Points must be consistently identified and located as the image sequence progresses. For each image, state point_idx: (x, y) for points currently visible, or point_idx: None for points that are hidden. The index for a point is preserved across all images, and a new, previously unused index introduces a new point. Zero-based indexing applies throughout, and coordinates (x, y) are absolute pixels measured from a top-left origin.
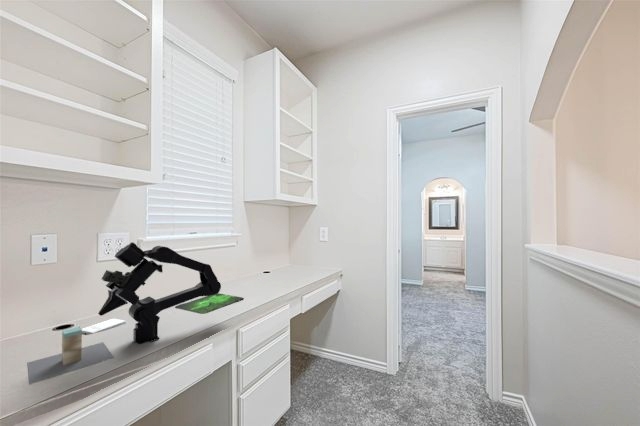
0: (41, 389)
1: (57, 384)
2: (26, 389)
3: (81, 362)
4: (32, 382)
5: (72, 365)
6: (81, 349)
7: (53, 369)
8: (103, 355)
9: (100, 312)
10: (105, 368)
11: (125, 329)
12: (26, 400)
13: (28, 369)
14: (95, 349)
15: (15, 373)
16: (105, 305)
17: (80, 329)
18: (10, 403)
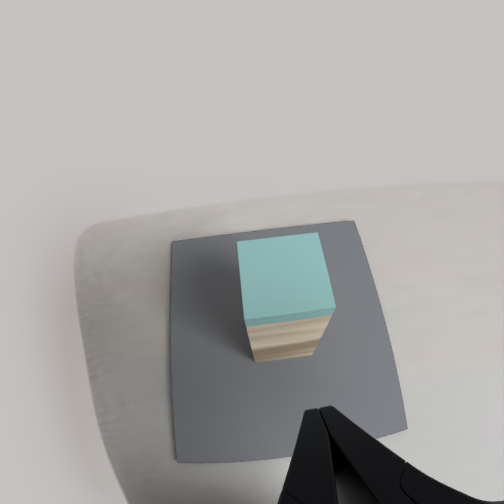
0: (128, 269)
1: (123, 300)
2: (160, 241)
3: (225, 362)
4: (178, 246)
5: (219, 335)
6: (252, 351)
7: (232, 285)
8: (235, 435)
9: (303, 424)
10: (121, 421)
11: (501, 480)
12: (100, 248)
13: (292, 228)
14: (337, 408)
15: (300, 208)
16: (302, 477)
17: (265, 312)
18: (115, 225)
